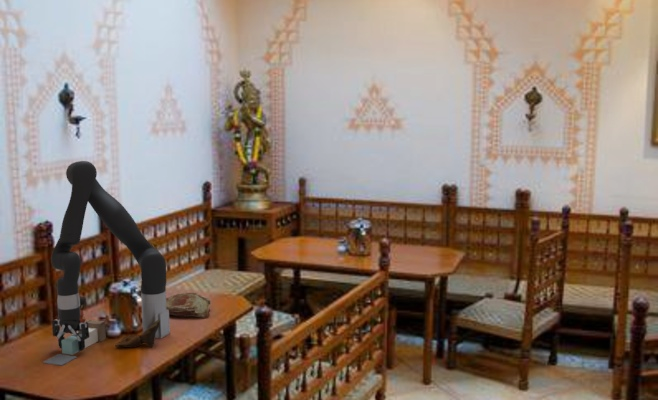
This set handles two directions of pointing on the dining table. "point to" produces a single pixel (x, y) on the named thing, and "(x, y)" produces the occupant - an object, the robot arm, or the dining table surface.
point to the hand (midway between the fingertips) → (71, 348)
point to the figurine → (82, 302)
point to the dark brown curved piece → (141, 337)
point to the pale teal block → (70, 345)
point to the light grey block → (95, 332)
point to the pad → (60, 359)
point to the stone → (188, 305)
